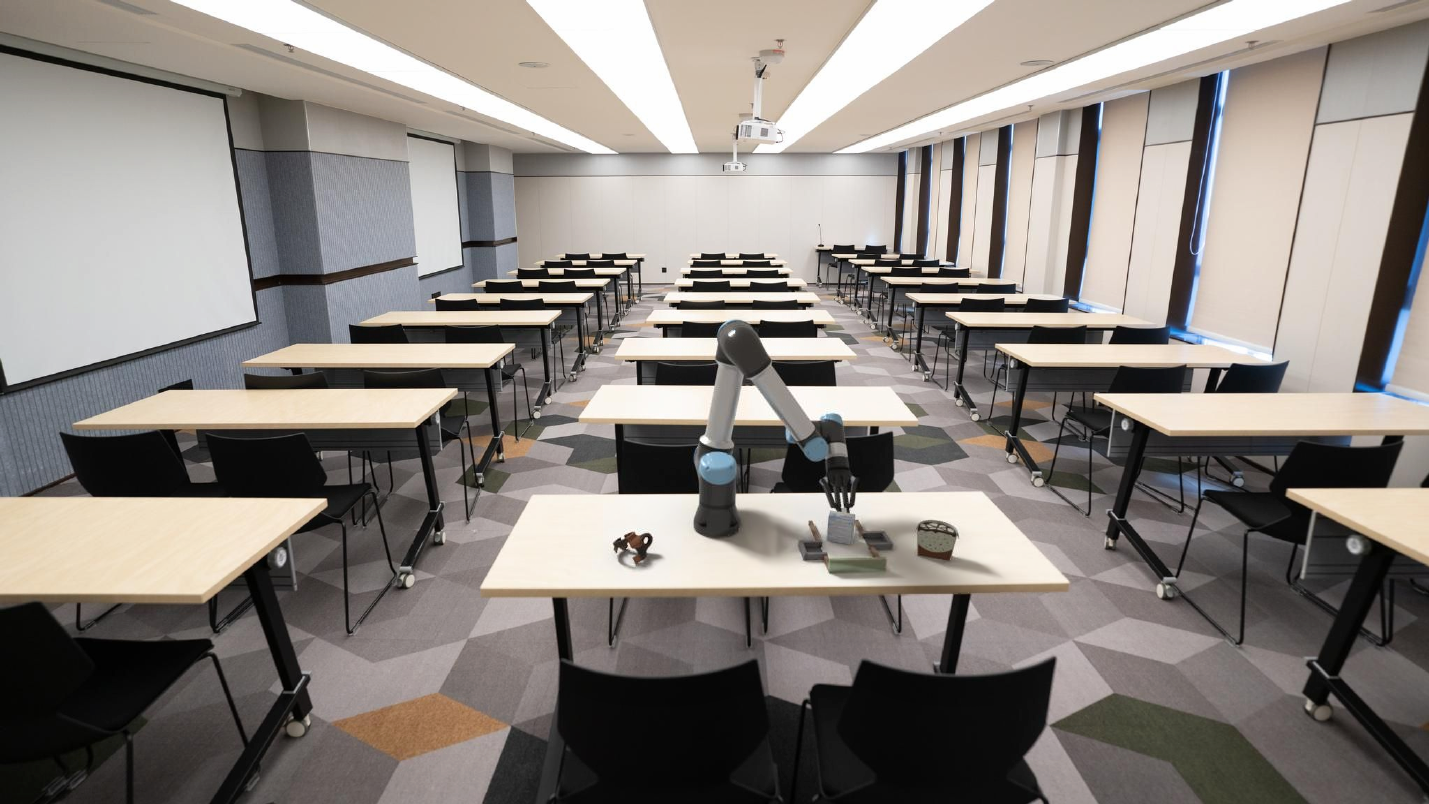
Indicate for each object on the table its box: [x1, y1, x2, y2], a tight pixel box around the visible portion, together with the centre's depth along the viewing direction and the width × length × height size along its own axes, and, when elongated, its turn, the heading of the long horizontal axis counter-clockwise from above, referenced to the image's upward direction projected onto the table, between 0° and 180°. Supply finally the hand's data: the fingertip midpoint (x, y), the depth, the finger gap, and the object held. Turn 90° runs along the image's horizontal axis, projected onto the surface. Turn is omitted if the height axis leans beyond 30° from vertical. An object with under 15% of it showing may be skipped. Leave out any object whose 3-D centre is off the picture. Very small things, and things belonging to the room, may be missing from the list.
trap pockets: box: [797, 530, 894, 561], centre depth 206 cm, size 13×28×2 cm, turn 94°
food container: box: [914, 519, 960, 563], centre depth 202 cm, size 12×6×10 cm, turn 71°
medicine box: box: [826, 510, 856, 545], centre depth 210 cm, size 8×4×9 cm, turn 73°
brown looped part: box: [612, 531, 654, 565], centre depth 200 cm, size 12×10×8 cm
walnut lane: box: [808, 519, 888, 574], centre depth 207 cm, size 29×16×4 cm, turn 4°
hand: (845, 529), depth 214 cm, fingers closed
